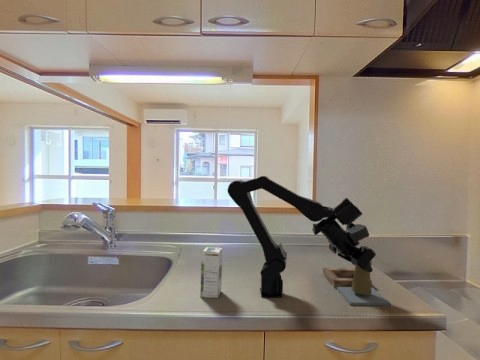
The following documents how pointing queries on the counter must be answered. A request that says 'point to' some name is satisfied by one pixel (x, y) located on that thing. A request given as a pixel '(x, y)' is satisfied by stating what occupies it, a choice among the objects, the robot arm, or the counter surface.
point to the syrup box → (211, 272)
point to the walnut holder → (334, 273)
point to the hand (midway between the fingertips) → (366, 268)
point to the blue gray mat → (363, 297)
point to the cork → (361, 281)
